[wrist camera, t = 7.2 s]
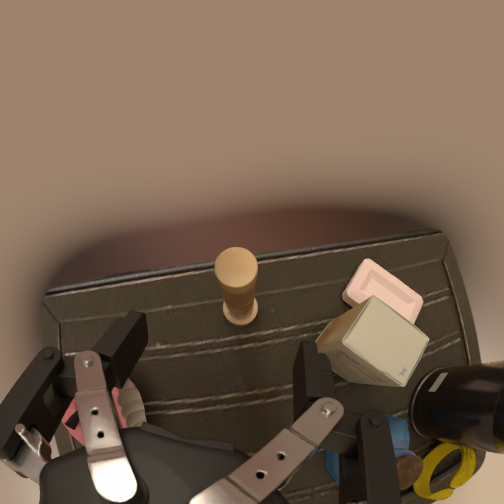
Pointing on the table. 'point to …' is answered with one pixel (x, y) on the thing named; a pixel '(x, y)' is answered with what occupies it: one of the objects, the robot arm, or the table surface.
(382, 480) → the robot arm
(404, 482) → the blue potion bottle
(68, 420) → the apple
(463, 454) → the bracelet
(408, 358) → the cosmetic box
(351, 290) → the soap bar
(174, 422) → the table surface
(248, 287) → the stick
